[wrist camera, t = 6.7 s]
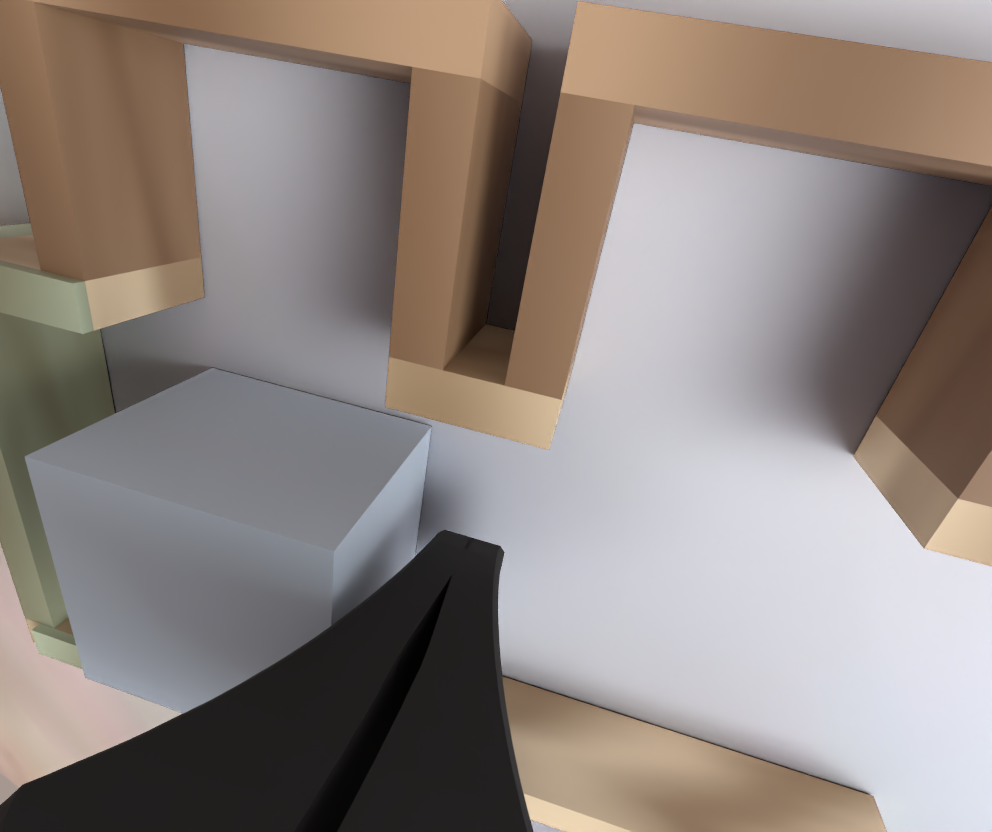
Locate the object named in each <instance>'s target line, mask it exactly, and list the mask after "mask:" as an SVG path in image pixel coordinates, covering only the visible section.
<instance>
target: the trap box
mask: <svg viewBox="0 0 992 832" xmlns="http://www.w3.org/2000/svg"><path fill="white" fill-rule="evenodd" d="M183 43H184V44H190V45H196V46H201V47H207V48H213V49H218V50H224V51H230V52H235V53H241V54H247V55H252V56H258V57H264V58H269V59H275V60H281V61H286V62H292V63H298V64H303V65H309V66H315V67H320V68H326V69H332V70H337V71H343V72H349V73H354V74H360V75H366V76H371V77H377V78H383V79H388V80H394V81H400V82H405V83H411V88H410V100H409V112H408V125H407V137H406V150H405V162H404V175H403V187H402V200H401V212H400V225H399V237H398V249H397V262H396V274H395V287H394V299H393V312H392V324H391V337H390V349H389V362H388V374H387V386H386V399H385V407H387V408H390V409H394V410H398V411H402V412H406V413H410V414H413V415H417V416H421V417H425V418H429V419H432V420H436V421H440V422H444V423H448V424H451V425H455V426H459V427H463V428H467V429H470V430H474V431H478V432H482V433H486V434H489V435H493V436H497V437H501V438H505V439H509V440H512V441H516V442H520V443H524V444H528V445H531V446H535V447H539V448H543V449H547V450H549V449H550V445H551V442H552V438H553V435H554V432H555V428H556V425H557V422H558V418H559V415H560V411H561V408H562V405H563V401H564V398H565V394H566V391H567V388H568V384H569V380H570V376H571V372H572V368H573V364H574V360H575V356H576V352H577V348H578V344H579V340H580V336H581V332H582V328H583V324H584V320H585V316H586V312H587V308H588V304H589V300H590V296H591V292H592V288H593V284H594V280H595V276H596V272H597V268H598V264H599V260H600V256H601V252H602V248H603V244H604V240H605V236H606V232H607V228H608V224H609V220H610V216H611V212H612V208H613V204H614V200H615V196H616V192H617V188H618V184H619V180H620V176H621V172H622V168H623V164H624V160H625V156H626V152H627V148H628V144H629V140H630V136H631V132H632V128H633V124H634V123H638V124H643V125H649V126H655V127H660V128H666V129H672V130H677V131H683V132H689V133H694V134H700V135H706V136H711V137H717V138H723V139H728V140H734V141H740V142H745V143H751V144H757V145H762V146H768V147H774V148H779V149H785V150H791V151H796V152H802V153H807V154H813V155H819V156H824V157H830V158H836V159H841V160H847V161H853V162H858V163H864V164H870V165H875V166H881V167H887V168H892V169H898V170H904V171H909V172H915V173H921V174H926V175H932V176H938V177H943V178H949V179H955V180H960V181H966V182H972V183H977V184H983V185H989V186H992V62H985V61H978V60H972V59H965V58H958V57H951V56H945V55H938V54H931V53H925V52H918V51H911V50H904V49H898V48H891V47H884V46H877V45H871V44H864V43H857V42H850V41H844V40H837V39H830V38H824V37H817V36H810V35H803V34H797V33H790V32H783V31H776V30H770V29H763V28H756V27H749V26H743V25H736V24H729V23H723V22H716V21H709V20H702V19H696V18H689V17H682V16H675V15H669V14H662V13H655V12H648V11H642V10H635V9H628V8H622V7H615V6H608V5H601V4H595V3H588V2H581V1H578V3H577V8H576V13H575V19H574V24H573V29H572V34H571V40H570V45H569V50H568V55H567V61H566V66H565V71H564V76H563V82H562V87H561V92H560V97H559V103H558V108H557V113H556V118H555V124H554V129H553V134H552V139H551V145H550V150H549V155H548V160H547V166H546V171H545V176H544V181H543V187H542V192H541V197H540V202H539V208H538V213H537V218H536V223H535V229H534V234H533V239H532V244H531V250H530V255H529V260H528V265H527V271H526V276H525V281H524V286H523V292H522V297H521V302H520V307H519V313H518V318H517V323H516V328H515V331H513V330H509V329H505V328H501V327H496V326H492V325H488V324H486V320H487V314H488V308H489V302H490V296H491V290H492V284H493V278H494V272H495V265H496V259H497V253H498V247H499V241H500V235H501V229H502V223H503V217H504V210H505V204H506V198H507V192H508V186H509V180H510V174H511V168H512V162H513V155H514V149H515V143H516V137H517V131H518V125H519V119H520V113H521V107H522V100H523V94H524V88H525V82H526V76H527V70H528V64H529V58H530V52H531V45H532V39H531V37H530V36H529V35H528V34H527V32H526V31H525V30H524V28H523V27H522V26H521V25H520V23H519V22H518V21H517V19H516V18H515V17H514V16H513V14H512V13H511V12H510V10H509V9H508V8H507V7H506V5H505V4H504V3H503V1H502V0H0V86H1V91H2V96H3V100H4V105H5V109H6V114H7V118H8V123H9V128H10V132H11V137H12V141H13V146H14V150H15V155H16V159H17V164H18V169H19V173H20V178H21V182H22V187H23V191H24V196H25V201H26V205H27V210H28V214H29V219H30V223H26V224H15V225H4V226H0V543H1V546H2V549H3V552H4V555H5V558H6V561H7V564H8V567H9V570H10V573H11V576H12V579H13V582H14V585H15V588H16V591H17V594H18V597H19V600H20V604H21V607H22V610H23V613H24V616H25V619H26V622H27V625H28V628H29V631H30V634H31V637H32V640H33V642H35V643H36V646H37V649H38V652H39V654H42V655H45V656H48V657H50V658H53V659H56V660H59V661H61V662H64V663H67V664H70V665H73V666H75V667H78V668H81V669H83V668H82V665H81V661H80V657H79V654H78V650H77V646H76V643H75V639H74V635H73V632H72V628H71V625H70V621H69V617H68V614H67V610H66V606H65V603H64V599H63V595H62V592H61V588H60V585H59V581H58V577H57V574H56V570H55V566H54V563H53V559H52V555H51V552H50V548H49V544H48V541H47V537H46V534H45V530H44V526H43V523H42V519H41V515H40V512H39V508H38V504H37V501H36V497H35V494H34V490H33V486H32V483H31V479H30V475H29V472H28V468H27V464H26V461H25V456H27V455H29V454H31V453H33V452H35V451H37V450H39V449H41V448H44V447H46V446H48V445H50V444H52V443H54V442H56V441H58V440H60V439H63V438H65V437H67V436H69V435H71V434H73V433H75V432H77V431H80V430H82V429H84V428H86V427H88V426H90V425H92V424H94V423H96V422H99V421H101V420H103V419H105V418H107V417H109V416H111V415H113V414H115V410H114V405H113V399H112V393H111V388H110V382H109V377H108V371H107V365H106V360H105V354H104V348H103V343H102V337H101V332H100V329H101V328H104V327H108V326H111V325H114V324H118V323H121V322H124V321H128V320H131V319H134V318H138V317H141V316H144V315H148V314H151V313H154V312H158V311H161V310H164V309H168V308H171V307H174V306H177V305H181V304H184V303H187V302H191V301H194V300H197V299H201V298H204V285H203V273H202V261H201V249H200V237H199V225H198V213H197V201H196V189H195V177H194V165H193V152H192V140H191V128H190V116H189V104H188V92H187V80H186V68H185V56H184V44H183ZM853 457H854V458H855V459H856V461H857V462H858V463H859V465H860V466H861V467H862V469H863V470H864V471H865V472H866V474H867V475H868V476H869V478H870V479H871V480H872V482H873V483H874V484H875V485H876V487H877V488H878V489H879V491H880V492H881V493H882V495H883V496H884V497H885V499H886V500H887V501H888V502H889V504H890V505H891V506H892V508H893V509H894V510H895V512H896V513H897V514H898V515H899V517H900V518H901V519H902V521H903V522H904V523H905V525H906V526H907V527H908V528H909V530H910V531H911V532H912V534H913V535H914V536H915V538H916V539H917V540H918V541H919V543H920V544H921V545H922V547H923V548H924V549H927V550H931V551H935V552H939V553H943V554H946V555H950V556H954V557H958V558H962V559H966V560H969V561H973V562H977V563H981V564H985V565H988V566H992V207H991V208H990V210H989V212H988V214H987V216H986V217H985V219H984V221H983V223H982V225H981V227H980V228H979V230H978V232H977V234H976V236H975V237H974V239H973V241H972V243H971V245H970V246H969V248H968V250H967V252H966V254H965V255H964V257H963V259H962V261H961V263H960V265H959V266H958V268H957V270H956V272H955V274H954V275H953V277H952V279H951V281H950V283H949V284H948V286H947V288H946V290H945V292H944V293H943V295H942V297H941V299H940V301H939V303H938V304H937V306H936V308H935V310H934V312H933V313H932V315H931V317H930V319H929V321H928V322H927V324H926V326H925V328H924V330H923V331H922V333H921V335H920V337H919V339H918V341H917V342H916V344H915V346H914V348H913V350H912V351H911V353H910V355H909V357H908V359H907V360H906V362H905V364H904V366H903V368H902V369H901V371H900V373H899V375H898V377H897V378H896V380H895V382H894V384H893V386H892V388H891V389H890V391H889V393H888V395H887V397H886V398H885V400H884V402H883V404H882V406H881V407H880V409H879V411H878V413H877V415H876V416H875V418H874V420H873V422H872V424H871V426H870V427H869V429H868V431H867V433H866V435H865V436H864V438H863V440H862V442H861V444H860V445H859V447H858V449H857V451H856V453H855V454H854V456H853ZM502 678H503V686H504V694H505V701H506V708H507V714H508V720H509V726H510V731H511V737H512V743H513V748H514V752H515V757H516V762H517V767H518V772H519V777H520V781H521V785H522V789H523V793H524V797H525V801H526V805H527V809H528V813H529V817H530V819H531V820H533V821H536V822H539V823H542V824H545V825H547V826H550V827H553V828H556V829H559V830H561V831H564V832H887V830H886V828H885V825H884V823H883V820H882V817H881V815H880V812H879V810H878V807H877V804H876V802H875V799H874V797H873V796H871V795H868V794H865V793H862V792H859V791H855V790H852V789H849V788H846V787H843V786H840V785H837V784H834V783H831V782H828V781H825V780H821V779H818V778H815V777H812V776H809V775H806V774H803V773H800V772H797V771H794V770H791V769H787V768H784V767H781V766H778V765H775V764H772V763H769V762H766V761H763V760H760V759H756V758H753V757H750V756H747V755H744V754H741V753H738V752H735V751H732V750H729V749H726V748H722V747H719V746H716V745H713V744H710V743H707V742H704V741H701V740H698V739H695V738H692V737H688V736H685V735H682V734H679V733H676V732H673V731H670V730H667V729H664V728H661V727H657V726H654V725H651V724H648V723H645V722H642V721H639V720H636V719H633V718H630V717H627V716H623V715H620V714H617V713H614V712H611V711H608V710H605V709H602V708H599V707H596V706H593V705H589V704H586V703H583V702H580V701H577V700H574V699H571V698H568V697H565V696H562V695H559V694H555V693H552V692H549V691H546V690H543V689H540V688H537V687H534V686H531V685H528V684H524V683H521V682H518V681H515V680H512V679H509V678H506V677H503V676H502Z"/></svg>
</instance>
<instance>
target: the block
mask: <svg viewBox="0 0 992 832" xmlns="http://www.w3.org/2000/svg"><path fill="white" fill-rule="evenodd" d="M431 428H432V426H429V425H425V424H421V423H417V422H414V421H410V420H406V419H402V418H399V417H395V416H391V415H387V414H384V413H380V412H376V411H372V410H369V409H365V408H361V407H357V406H354V405H350V404H346V403H342V402H339V401H335V400H331V399H327V398H324V397H320V396H316V395H312V394H309V393H305V392H301V391H297V390H294V389H290V388H286V387H282V386H279V385H275V384H271V383H267V382H264V381H260V380H256V379H252V378H249V377H245V376H241V375H237V374H234V373H230V372H226V371H222V370H219V369H215V368H211V369H208V370H206V371H204V372H202V373H200V374H198V375H196V376H194V377H192V378H189V379H187V380H185V381H183V382H181V383H179V384H177V385H175V386H173V387H170V388H168V389H166V390H164V391H162V392H160V393H158V394H156V395H153V396H151V397H149V398H147V399H145V400H143V401H141V402H139V403H137V404H134V405H132V406H130V407H128V408H126V409H124V410H122V411H120V412H118V413H115V414H113V415H111V416H109V417H107V418H105V419H103V420H101V421H99V422H96V423H94V424H92V425H90V426H88V427H86V428H84V429H82V430H80V431H77V432H75V433H73V434H71V435H69V436H67V437H65V438H63V439H60V440H58V441H56V442H54V443H52V444H50V445H48V446H46V447H44V448H41V449H39V450H37V451H35V452H33V453H31V454H29V455H27V456H25V461H26V464H27V468H28V472H29V475H30V479H31V483H32V486H33V490H34V494H35V497H36V501H37V504H38V508H39V512H40V515H41V519H42V523H43V526H44V530H45V534H46V537H47V541H48V544H49V548H50V552H51V555H52V559H53V563H54V566H55V570H56V574H57V577H58V581H59V585H60V588H61V592H62V595H63V599H64V603H65V606H66V610H67V614H68V617H69V621H70V625H71V628H72V632H73V635H74V639H75V643H76V646H77V650H78V654H79V657H80V661H81V665H82V668H83V672H84V676H85V678H88V679H90V680H93V681H96V682H99V683H101V684H104V685H107V686H110V687H112V688H115V689H118V690H120V691H123V692H126V693H129V694H131V695H134V696H137V697H140V698H142V699H145V700H148V701H151V702H153V703H156V704H159V705H162V706H164V707H167V708H170V709H173V710H175V711H178V712H181V713H185V712H187V711H189V710H191V709H193V708H195V707H197V706H199V705H201V704H203V703H205V702H207V701H209V700H211V699H213V698H215V697H217V696H219V695H221V694H222V693H224V692H226V691H228V690H230V689H231V688H233V687H235V686H237V685H239V684H240V683H242V682H244V681H246V680H247V679H249V678H251V677H252V676H254V675H256V674H257V673H259V672H261V671H263V670H264V669H266V668H268V667H269V666H271V665H273V664H274V663H276V662H278V661H279V660H281V659H283V658H284V657H286V656H287V655H289V654H290V653H292V652H293V651H295V650H297V649H298V648H300V647H301V646H303V645H304V644H306V643H307V642H309V641H310V640H312V639H313V638H315V637H316V636H317V635H319V634H320V633H322V632H323V631H325V630H326V629H327V628H329V627H330V626H332V625H333V624H334V623H336V622H337V621H338V620H340V619H341V618H342V617H344V616H345V615H346V614H348V613H349V612H350V611H351V610H353V609H354V608H355V607H357V606H358V605H359V604H361V603H362V602H363V601H365V600H366V599H367V598H368V597H370V596H371V595H372V594H373V593H374V592H376V591H377V590H378V589H379V588H380V587H381V586H383V585H384V584H385V583H386V582H387V581H388V580H390V579H391V578H392V577H393V576H394V575H396V574H397V573H398V572H399V571H400V570H401V569H402V568H403V567H404V566H406V565H407V564H408V563H409V562H410V561H411V560H412V559H413V558H414V557H415V552H416V544H417V537H418V529H419V521H420V513H421V506H422V498H423V490H424V482H425V475H426V467H427V459H428V451H429V444H430V436H431Z"/></svg>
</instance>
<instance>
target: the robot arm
mask: <svg viewBox="0 0 992 832" xmlns="http://www.w3.org/2000/svg"><path fill="white" fill-rule="evenodd" d="M503 557H504V551H503V550H502V548H501V547H500V546H498V545H495V544H491V543H488V542H484V541H481V540H477V539H474V538H471V537H467V536H464V535H460V534H457V533H453V532H450V531H447V530H443V531H441V532H439V533H438V534H437V535H436V536H435V537H434V538H433V539H432V540H431V541H430V542H429V543H428V544H427V545H426V546H425V547H424V548H423V549H422V550H421V551H420V552H419V553H418V554H417V555H416V556H415V557H414V558H413V559H412V560H411V561H410V562H409V563H408V564H407V565H406V566H404V567H403V568H402V569H401V570H400V571H399V572H398V573H397V574H396V575H394V576H393V577H392V578H391V579H390V580H388V581H387V582H386V583H385V584H384V585H383V586H381V587H380V588H379V589H378V590H377V591H376V592H374V593H373V594H372V595H371V596H370V597H368V598H367V599H366V600H365V601H363V602H362V603H361V604H359V605H358V606H357V607H355V608H354V609H353V610H351V611H350V612H349V613H348V614H346V615H345V616H344V617H342V618H341V619H340V620H338V621H337V622H336V623H334V624H333V625H332V626H330V627H329V628H327V629H326V630H325V631H323V632H322V633H320V634H319V635H317V636H316V637H315V638H313V639H312V640H310V641H309V642H307V643H306V644H304V645H303V646H301V647H300V648H298V649H297V650H295V651H293V652H292V653H290V654H289V655H287V656H286V657H284V658H283V659H281V660H279V661H278V662H276V663H274V664H273V665H271V666H269V667H268V668H266V669H264V670H263V671H261V672H259V673H257V674H256V675H254V676H252V677H251V678H249V679H247V680H246V681H244V682H242V683H240V684H239V685H237V686H235V687H233V688H231V689H230V690H228V691H226V692H224V693H222V694H221V695H219V696H217V697H215V698H213V699H211V700H209V701H207V702H205V703H203V704H201V705H199V706H197V707H195V708H193V709H191V710H189V711H187V712H185V713H183V714H181V715H179V716H177V717H175V718H173V719H171V720H169V721H167V722H165V723H163V724H161V725H159V726H157V727H155V728H153V729H151V730H149V731H147V732H145V733H143V734H141V735H138V736H136V737H134V738H132V739H130V740H127V741H125V742H123V743H121V744H118V745H116V746H114V747H111V748H109V749H107V750H104V751H102V752H100V753H97V754H95V755H93V756H90V757H88V758H86V759H83V760H81V761H78V762H76V763H74V764H71V765H69V766H67V767H64V768H62V769H60V770H57V771H55V772H53V773H50V774H48V775H46V776H43V777H41V778H38V779H36V780H33V781H31V782H28V783H26V784H24V785H22V786H21V787H20V788H19V789H18V790H17V791H16V792H14V793H13V794H12V795H11V796H10V797H9V798H8V799H7V800H6V801H5V802H3V803H2V804H1V805H0V832H533V829H532V825H531V821H530V817H529V813H528V809H527V805H526V801H525V797H524V793H523V789H522V785H521V781H520V777H519V772H518V767H517V762H516V757H515V752H514V748H513V743H512V737H511V731H510V726H509V720H508V714H507V708H506V701H505V694H504V686H503V678H502V669H501V659H500V647H499V627H498V587H499V575H500V570H501V566H502V561H503Z"/></svg>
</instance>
